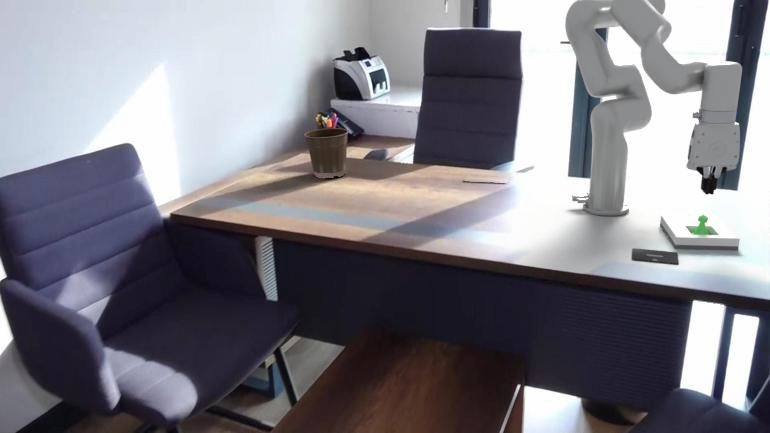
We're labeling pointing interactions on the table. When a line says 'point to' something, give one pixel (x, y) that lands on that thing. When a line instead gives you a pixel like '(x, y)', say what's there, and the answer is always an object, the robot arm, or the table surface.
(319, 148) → the plant pot
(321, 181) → the table surface
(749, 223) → the table surface
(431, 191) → the table surface
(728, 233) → the white square slotted base
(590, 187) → the robot arm
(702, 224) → the game piece
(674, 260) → the solid state drive
